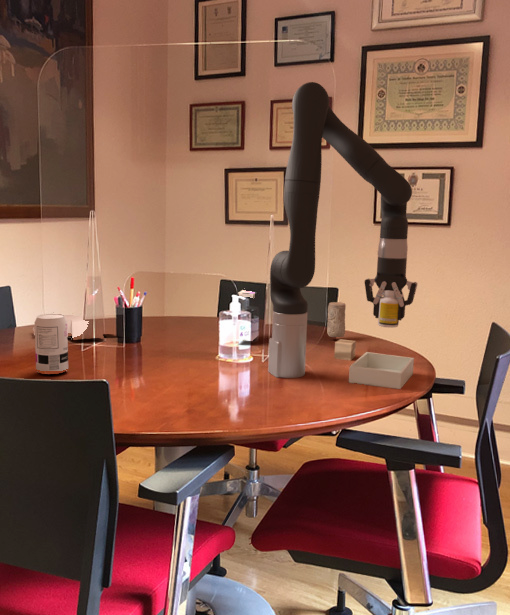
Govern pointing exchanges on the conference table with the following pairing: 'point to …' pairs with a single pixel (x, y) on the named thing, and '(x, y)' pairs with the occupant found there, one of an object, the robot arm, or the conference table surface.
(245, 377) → the conference table surface
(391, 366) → the box
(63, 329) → the supplement can
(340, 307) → the carving
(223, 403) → the conference table surface
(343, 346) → the birch cube
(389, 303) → the supplement bottle
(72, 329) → the paper sheets
